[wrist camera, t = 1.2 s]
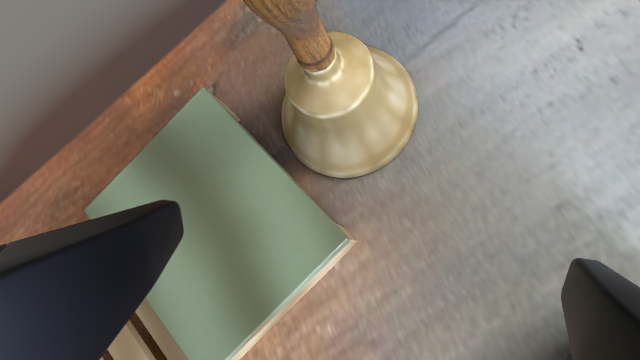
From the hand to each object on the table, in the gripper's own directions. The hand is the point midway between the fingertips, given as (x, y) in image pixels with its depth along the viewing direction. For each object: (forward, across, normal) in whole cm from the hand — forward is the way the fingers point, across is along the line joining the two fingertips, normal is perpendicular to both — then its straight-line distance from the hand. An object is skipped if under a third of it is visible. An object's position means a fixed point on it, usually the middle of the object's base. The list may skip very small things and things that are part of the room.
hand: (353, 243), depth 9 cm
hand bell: (+16, +3, +1) cm, 16 cm away
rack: (+9, +12, +11) cm, 19 cm away
